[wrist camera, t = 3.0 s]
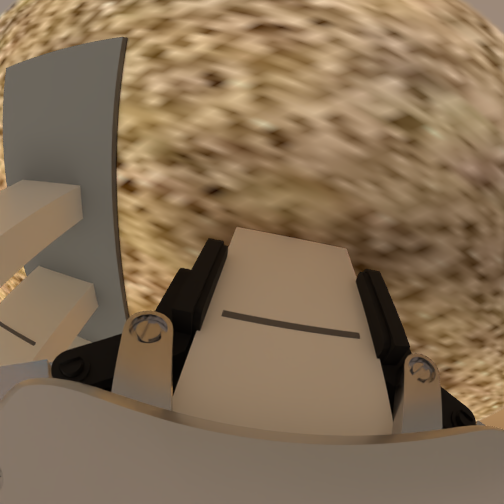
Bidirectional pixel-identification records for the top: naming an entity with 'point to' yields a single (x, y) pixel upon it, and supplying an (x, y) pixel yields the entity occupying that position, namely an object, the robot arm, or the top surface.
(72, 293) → the domino
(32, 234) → the domino
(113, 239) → the mat
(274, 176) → the top surface
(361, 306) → the domino
